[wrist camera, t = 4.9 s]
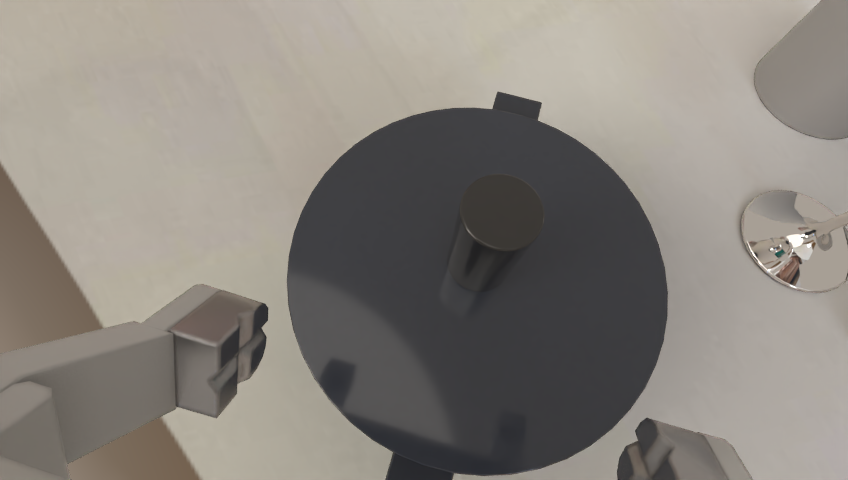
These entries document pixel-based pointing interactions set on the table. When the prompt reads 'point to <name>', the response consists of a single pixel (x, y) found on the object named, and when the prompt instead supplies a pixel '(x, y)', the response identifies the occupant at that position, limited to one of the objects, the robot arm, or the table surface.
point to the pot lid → (477, 291)
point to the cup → (810, 73)
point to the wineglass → (797, 240)
